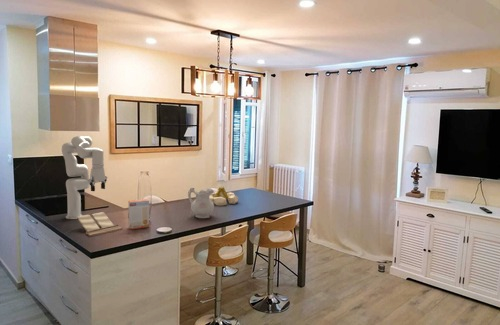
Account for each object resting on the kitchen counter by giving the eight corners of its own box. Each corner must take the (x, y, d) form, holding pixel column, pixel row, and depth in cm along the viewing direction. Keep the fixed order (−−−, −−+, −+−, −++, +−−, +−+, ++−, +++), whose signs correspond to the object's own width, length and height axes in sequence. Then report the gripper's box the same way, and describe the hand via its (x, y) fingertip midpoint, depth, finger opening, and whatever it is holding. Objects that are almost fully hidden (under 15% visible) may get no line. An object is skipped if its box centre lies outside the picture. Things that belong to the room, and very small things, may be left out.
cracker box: (147, 225, 281) (147, 198, 279) (149, 227, 276) (149, 200, 273) (128, 227, 274) (128, 200, 272) (130, 229, 269) (130, 201, 266)
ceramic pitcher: (191, 221, 299) (192, 192, 294) (185, 213, 316) (186, 185, 312) (216, 219, 308) (218, 191, 304) (208, 212, 326) (210, 185, 321)
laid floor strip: (85, 234, 255) (85, 231, 255) (117, 227, 274) (117, 224, 274) (90, 236, 251) (90, 234, 251) (122, 229, 269) (122, 226, 269)
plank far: (91, 215, 275) (92, 213, 275) (103, 213, 282) (103, 211, 282) (102, 230, 266) (103, 228, 266) (114, 227, 273) (114, 226, 272)
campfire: (216, 207, 344) (216, 190, 342) (195, 200, 369) (196, 184, 367) (244, 203, 368) (244, 186, 366) (223, 196, 393) (223, 181, 390)
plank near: (77, 217, 267) (77, 216, 267) (89, 215, 274) (89, 214, 273) (87, 233, 258) (88, 231, 257) (100, 230, 264) (100, 229, 264)
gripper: (102, 164, 271) (102, 187, 273) (84, 167, 255) (84, 191, 257) (110, 165, 268) (110, 188, 271) (92, 168, 252) (92, 192, 255)
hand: (98, 189), depth 264 cm, fingers open, 9 cm apart
